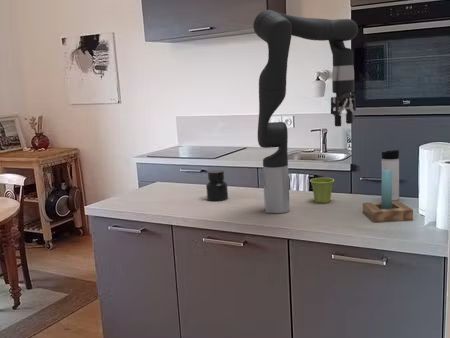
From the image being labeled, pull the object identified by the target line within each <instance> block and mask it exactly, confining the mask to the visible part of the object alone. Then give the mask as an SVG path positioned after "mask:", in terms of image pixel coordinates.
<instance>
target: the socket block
mask: <svg viewBox="0 0 450 338" xmlns="http://www.w3.org/2000/svg"><path fill="white" fill-rule="evenodd" d="M362 213H363V214H364V215H365V216H366V217H367V218H368V219H369V220H370V221H372V222H373V223H388V222H389V223H390V222H405V221H407V222H408V221H414V209H412V208H411V207H410V206H408V205H406V204H405V203H404V202H402V201H400V200H399V201H392V209H381V201H371V202H370V201H369V202H362Z"/></svg>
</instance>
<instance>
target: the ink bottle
mask: <svg viewBox="0 0 450 338" xmlns="http://www.w3.org/2000/svg"><path fill="white" fill-rule="evenodd" d="M207 178H208V179H207V180H208V182H207V183H206V188H205V189H206V198H207V200H208V201H210V200H212V202H218V201H219V200H221V201H224V200H227V199H229V193H228V183H227V182H226V181H225V172H224V170H221V169H216V170H209V171H207ZM219 202H220V201H219Z"/></svg>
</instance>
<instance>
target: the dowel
mask: <svg viewBox="0 0 450 338" xmlns="http://www.w3.org/2000/svg"><path fill="white" fill-rule="evenodd" d="M380 202H381V209H392V170H382V169H381V201H380Z"/></svg>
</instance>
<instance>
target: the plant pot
mask: <svg viewBox="0 0 450 338" xmlns="http://www.w3.org/2000/svg"><path fill="white" fill-rule="evenodd" d="M309 182H310V183H311V187H312V191H313V198H314V203H322V204H325V203H326V204H327V203H329V202H331V199H332V190H333V185H334V182H335V179H334V178H331V177H315V178H311V179H310V180H309Z"/></svg>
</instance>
